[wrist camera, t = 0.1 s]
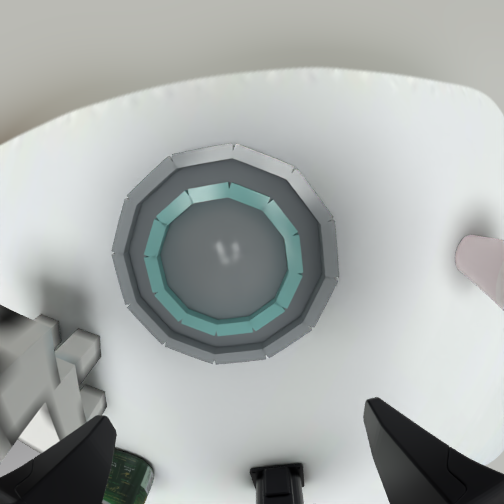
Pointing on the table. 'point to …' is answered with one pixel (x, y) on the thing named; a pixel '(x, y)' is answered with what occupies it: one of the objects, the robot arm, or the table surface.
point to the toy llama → (44, 381)
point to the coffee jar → (128, 480)
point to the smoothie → (483, 264)
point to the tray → (226, 254)
